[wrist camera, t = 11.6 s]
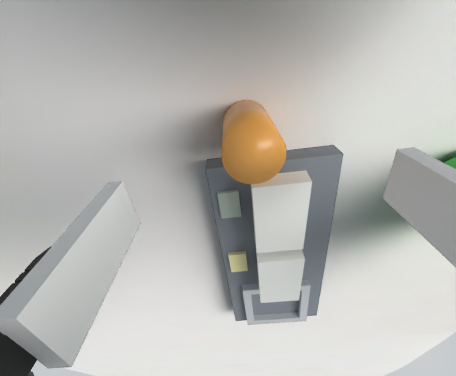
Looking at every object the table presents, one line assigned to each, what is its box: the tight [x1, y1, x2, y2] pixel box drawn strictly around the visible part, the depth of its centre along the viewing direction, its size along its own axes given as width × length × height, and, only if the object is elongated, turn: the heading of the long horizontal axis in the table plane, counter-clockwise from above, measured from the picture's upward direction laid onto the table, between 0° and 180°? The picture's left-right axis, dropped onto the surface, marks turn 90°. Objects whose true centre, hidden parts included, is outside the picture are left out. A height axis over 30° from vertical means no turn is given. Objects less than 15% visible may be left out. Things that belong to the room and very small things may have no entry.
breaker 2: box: [256, 249, 305, 303], centre depth 24 cm, size 8×4×2 cm, turn 7°
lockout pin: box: [222, 100, 286, 184], centre depth 17 cm, size 4×4×7 cm
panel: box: [206, 145, 343, 325], centre depth 27 cm, size 26×12×3 cm, turn 7°
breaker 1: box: [251, 170, 312, 253], centre depth 19 cm, size 8×4×2 cm, turn 7°
